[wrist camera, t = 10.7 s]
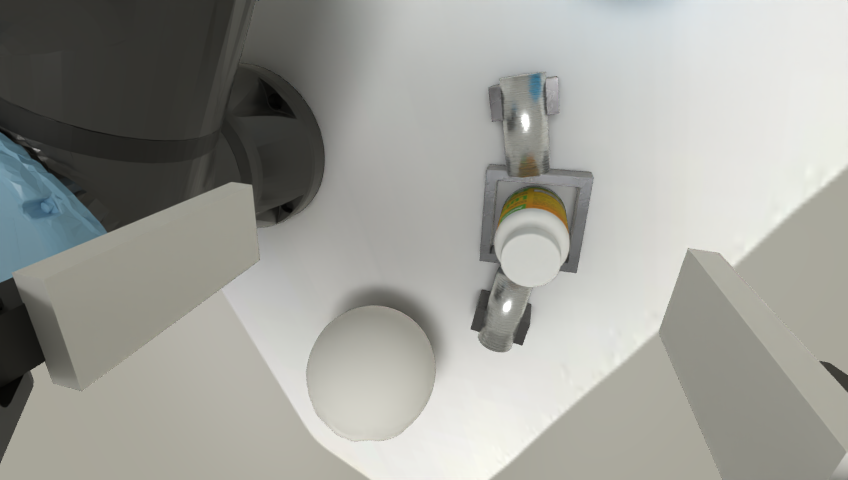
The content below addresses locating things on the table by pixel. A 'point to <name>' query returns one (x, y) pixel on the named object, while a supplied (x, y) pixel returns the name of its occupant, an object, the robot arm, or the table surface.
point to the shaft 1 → (525, 120)
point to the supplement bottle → (532, 236)
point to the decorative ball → (370, 373)
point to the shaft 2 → (502, 314)
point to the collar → (551, 178)
